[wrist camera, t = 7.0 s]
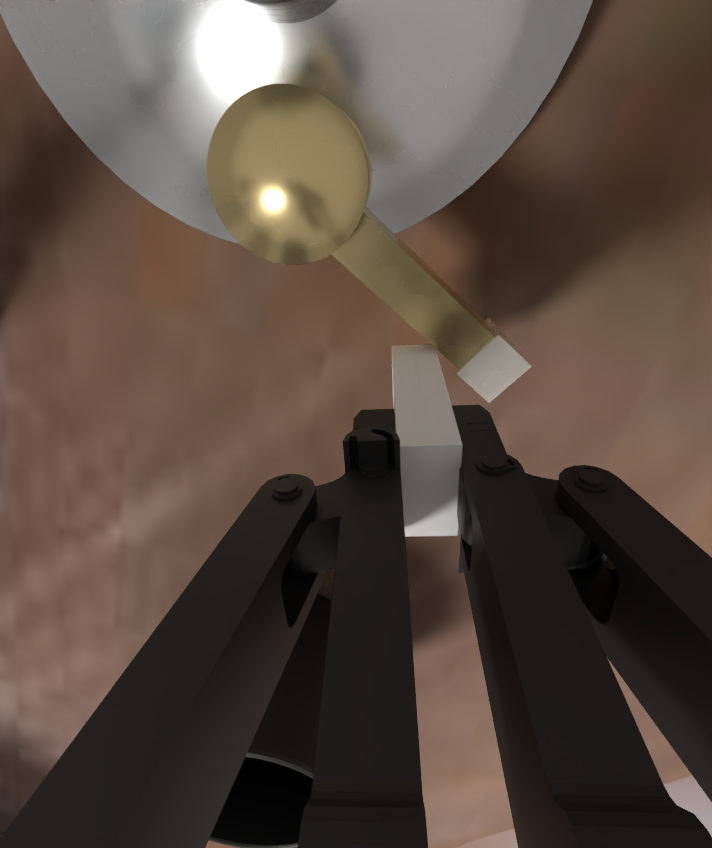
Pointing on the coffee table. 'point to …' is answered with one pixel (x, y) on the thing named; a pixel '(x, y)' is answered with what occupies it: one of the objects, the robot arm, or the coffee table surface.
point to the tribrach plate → (298, 83)
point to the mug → (281, 750)
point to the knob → (339, 221)
